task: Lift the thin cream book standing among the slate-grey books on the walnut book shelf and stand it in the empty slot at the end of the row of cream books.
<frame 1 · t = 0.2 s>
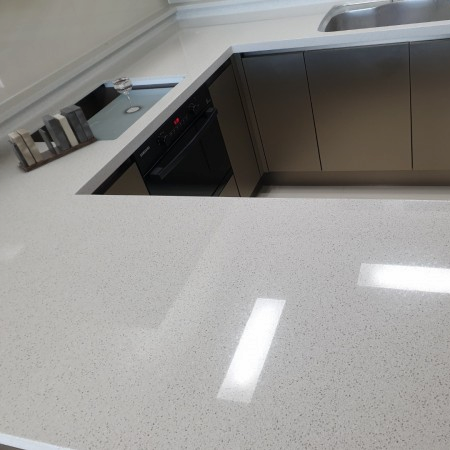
wineglass: (133, 110, 181), on the table
cream book: (72, 143, 159), point 1 cm above the table, touching book shelf
book shelf: (59, 153, 157), on the table
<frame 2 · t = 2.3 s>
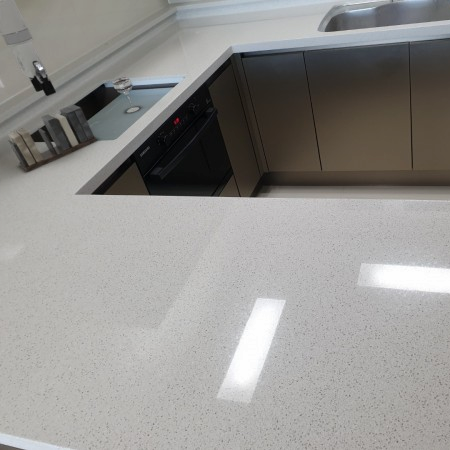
hand: (46, 92, 149), 20 cm above the table, tool pointing down, fingers open, 9 cm apart
nothing on the table moved.
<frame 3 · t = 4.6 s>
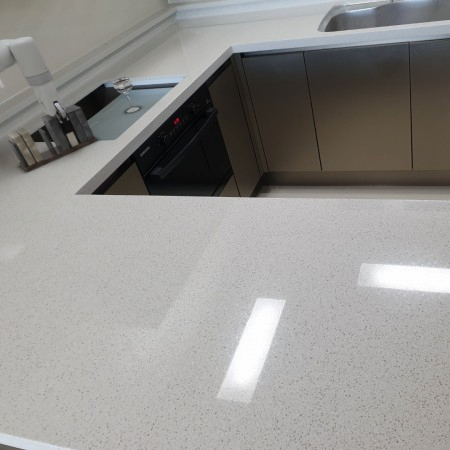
hand: (65, 130, 156), 6 cm above the table, tool pointing down, fingers closed on cream book, 6 cm apart
cream book: (72, 143, 159), point 1 cm above the table, touching book shelf, gripper
everything else where it was.
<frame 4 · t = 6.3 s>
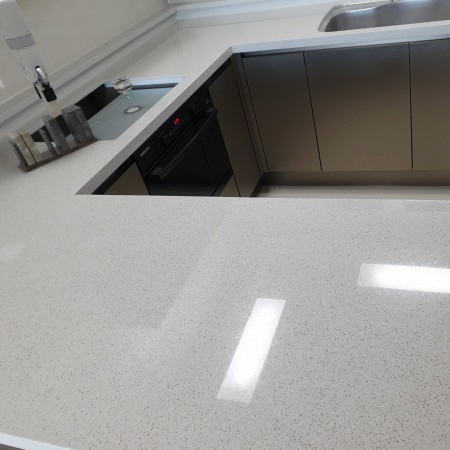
hand: (48, 98, 150), 18 cm above the table, tool pointing down, fingers closed on cream book, 6 cm apart
cream book: (55, 113, 153), point 12 cm above the table, touching gripper
everything else where it was.
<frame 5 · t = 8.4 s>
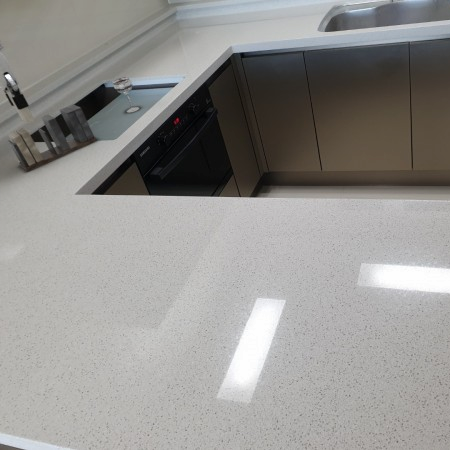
hand: (20, 105, 145), 19 cm above the table, tool pointing down, fingers closed on cream book, 6 cm apart
cream book: (28, 120, 148), point 14 cm above the table, touching gripper
everything else where it was.
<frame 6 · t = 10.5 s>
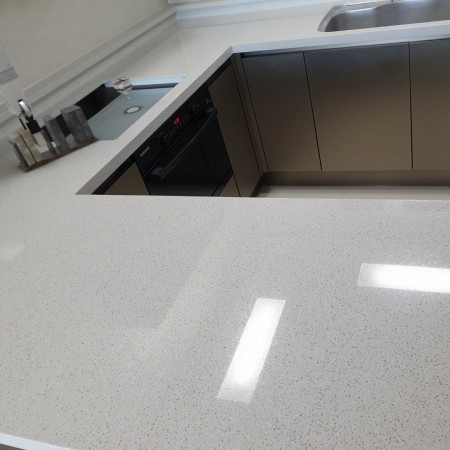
hand: (33, 130, 149), 10 cm above the table, tool pointing down, fingers closed on cream book, 6 cm apart
cream book: (40, 144, 152), point 5 cm above the table, touching gripper
everything else where it was.
when the fingers open (6 cm above the table, at t = 12.2 s): cream book stays where it is, resting on book shelf.
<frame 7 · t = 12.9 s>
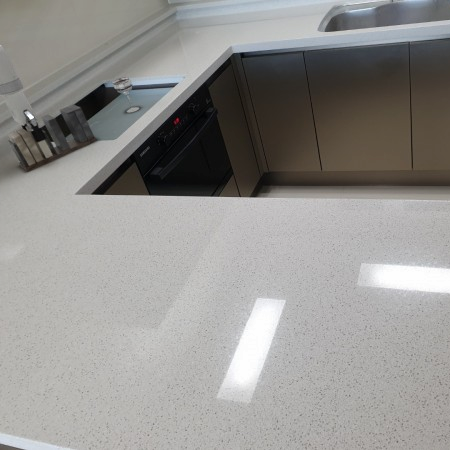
hand: (36, 137, 151), 8 cm above the table, tool pointing down, fingers open, 9 cm apart
cream book: (46, 154, 155), point 1 cm above the table, touching book shelf
everything else where it was.
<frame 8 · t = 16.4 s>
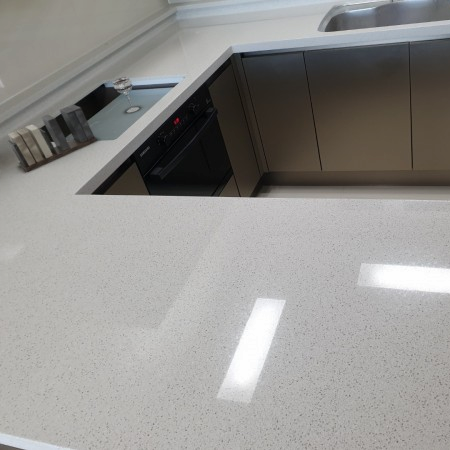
nothing on the table moved.
at the end: cream book 0.0 cm from the target spot on the book shelf, point 1.2 cm above the book shelf's base; cream book tilted 0°; the gripper is holding nothing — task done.
